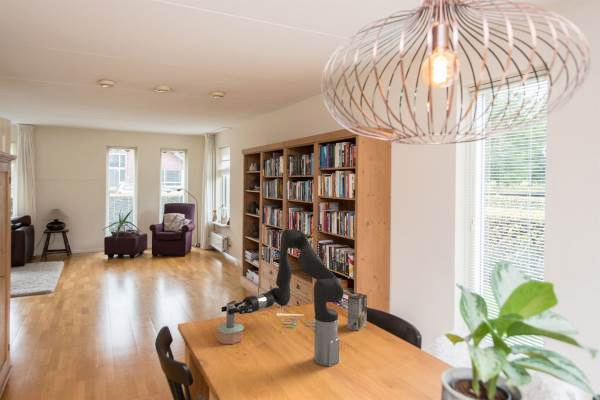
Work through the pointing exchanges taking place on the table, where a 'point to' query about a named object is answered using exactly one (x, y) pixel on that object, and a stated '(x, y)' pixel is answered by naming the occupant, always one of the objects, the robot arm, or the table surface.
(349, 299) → the coffee box
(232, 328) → the peg on round base
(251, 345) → the table surface
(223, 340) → the bowl
